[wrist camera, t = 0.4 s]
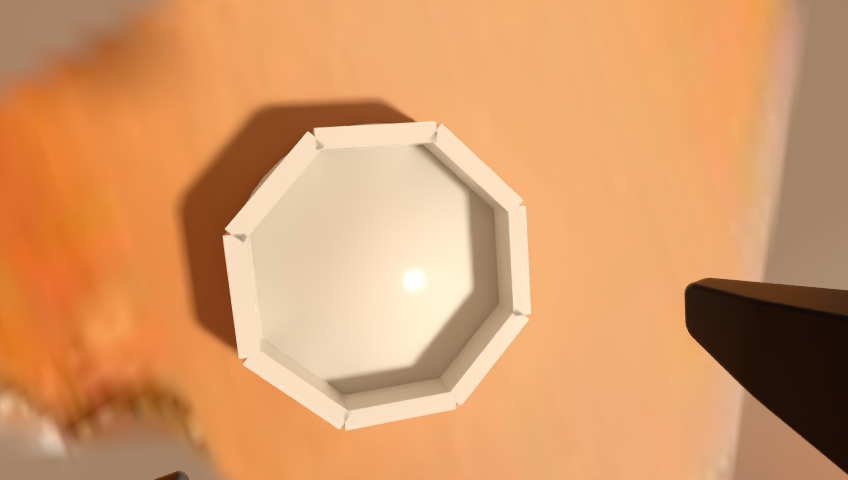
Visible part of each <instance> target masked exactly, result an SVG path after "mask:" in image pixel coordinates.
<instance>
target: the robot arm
mask: <svg viewBox="0 0 848 480" xmlns="http://www.w3.org/2000/svg"><path fill="white" fill-rule="evenodd" d="M685 322H686V327H687V330H688V332H689V333H690V335H691V336H692V337H693V338H694V339H695V340H696V341H697V342H698V343H699V344H700V345H701V346H702V347H703V348H704V349H705V350H706V351H707V352H708V353H709V354H710V355H711V356H712V357H713V358H714V359H715V360H716V361H717V362H718V363H719V364H720V365H721V366H722V367H723V368H724V369H725V370H726V371H727V372H728V373H729V374H730V375H731V376H732V377H733V378H734V379H735V380H736V381H738V382H739V383H740V384H741V385H742V386H743V387H744V388H745V389H746V390H747V391H748V392H749V393H750V394H751V395H752V396H753V397H755V398H756V399H757V400H758V401H759V402H760V403H761V404H763V405H764V406H765V407H766V408H767V409H769V410H770V411H771V412H772V413H773V414H775V415H776V416H777V417H778V418H779V419H781V420H782V421H783V422H784V423H786V424H787V425H788V426H789V427H790V428H792V429H793V430H794V431H795V432H796V433H798V434H799V435H800V436H801V437H802V438H804V439H805V440H806V441H807V442H809V443H810V444H811V445H812V446H813V447H815V448H816V449H817V450H818V451H819V452H821V453H822V454H823V455H824V456H826V457H827V458H828V459H829V460H830V461H832V462H833V463H834V464H835V465H836V466H838V467H839V468H840V469H841V470H843V471H844V472H845V473H846V474H847V475H848V290H838V289H826V288H816V287H804V286H794V285H783V284H772V283H761V282H750V281H739V280H728V279H717V278H705V279H702V280H699V281H696V282H694V283H691V284H689V285H688V286H687V287H686V289H685ZM155 480H189V478H188V476H187V475H186V474H185V473H184V472H182V471H176V472H174V473H171V474H168V475H165V476H163V477H160V478H157V479H155Z"/></svg>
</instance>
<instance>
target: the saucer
mask: <svg viewBox="0 0 848 480" xmlns="http://www.w3.org/2000/svg"><path fill="white" fill-rule="evenodd" d="M312 133H313V135H312V134H311V133H310V132H309V131H307V133H306V134H305V135H304V136H303V137H302V138H301V140H300V141H299V142H298V143H297V144H296V146H295V147H294V148H293V149H292V150H291V151H290V153H289V154H287V155H286V156H285V157H284V158H282V159H281V160H280V161H278V162H277V164H276V165H275V166H274V167H273V168H272V169H271V170H270V171H269V172H268V173H267V174H266V175H265V176H264V177H263V178H262V180H261V181H260V183H259V184H258V185H257V187H256V188H255V189H254V191H253V192H252V194H251V195H250V197H249V199H248V201H247V203H246V204H245V206H244V207H243V208H242V209H241V210H240V211H239V213H238V214H237V215H236V216H235V217H234V219H233V220H232V221H231V222H230V223H229V224H228V226H227V227H226V228H225V230H226V231H227V232H226V233H225V234H224V235H223V243H224V251H225V258H226V266H227V273H228V281H229V288H230V296H231V303H232V311H233V318H234V326H235V333H236V341H237V348H238V356H239V359H242V358H244V360H243V364H242V365H244V366H245V367H247V368H248V369H250V370H251V371H253V372H254V373H256V374H257V375H259V376H260V377H262V378H263V379H265V380H266V381H268V382H269V383H271V384H272V385H274V386H275V387H277V388H278V389H280V390H281V391H283V392H284V393H286V394H287V395H289V396H290V397H292V398H293V399H295V400H296V401H298V402H299V403H301V404H302V405H304V406H305V407H307V408H308V409H310V410H311V411H313V412H314V413H316V414H317V415H319V416H320V417H322V418H323V419H325V420H326V421H328V422H329V423H331V424H332V425H333V426H335V427H336V428H338V429H340V428H341V427H342V426H343V424H344V426H345V431H346V430H351V429H356V428H361V427H366V426H371V425H376V424H381V423H387V422H392V421H397V420H402V419H407V418H412V417H417V416H422V415H428V414H433V413H438V412H443V411H448V410H453V409H456V402H457V403H458V404H459V405H462V404H463V403H464V401H465V400H466V399H467V398H468V396H469V395H470V394H471V393H472V391H473V390H474V389H475V387H476V386H477V385H478V384H479V382H480V381H481V380H482V379H483V377H484V376H485V375H486V373H487V372H488V371H489V370H490V368H491V367H492V366H493V365H494V363H495V362H496V361H497V359H498V358H499V357H500V356H501V354H502V353H503V352H504V351H505V349H506V348H507V347H508V345H509V344H510V343H511V342H512V340H513V339H514V338H515V337H516V335H517V334H518V333H519V331H520V330H521V329H522V328H523V326H524V325H525V324H526V323H527V321H528V320H529V319H528V318H527V317H526V316H524V315H527V314H531V307H530V286H529V264H528V242H527V221H526V205H520V204H521V203H522V201H523V199H522V198H521V197H519V196H518V195H517V194H516V193H515V192H514V191H513V190H512V189H511V188H510V187H509V186H508V185H507V184H506V183H505V182H504V181H502V180H501V179H500V178H499V177H498V176H497V175H496V174H495V173H494V172H493V171H492V170H491V169H490V168H489V167H488V166H487V165H485V164H484V163H483V162H482V161H481V160H480V159H479V158H478V157H477V156H476V155H475V154H474V153H473V152H472V151H471V150H470V149H468V148H467V147H466V146H465V145H464V144H463V143H462V142H461V141H460V140H459V139H458V138H457V137H456V136H455V135H454V134H452V133H451V132H450V131H449V130H448V129H447V128H446V127H445V126H444V125H443V124H442V123H441V124H439V125H436V121H431V122H413V123H394V124H388V123H368V124H360V125H352V126H340V127H321V128H314V129H313V131H312Z"/></svg>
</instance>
